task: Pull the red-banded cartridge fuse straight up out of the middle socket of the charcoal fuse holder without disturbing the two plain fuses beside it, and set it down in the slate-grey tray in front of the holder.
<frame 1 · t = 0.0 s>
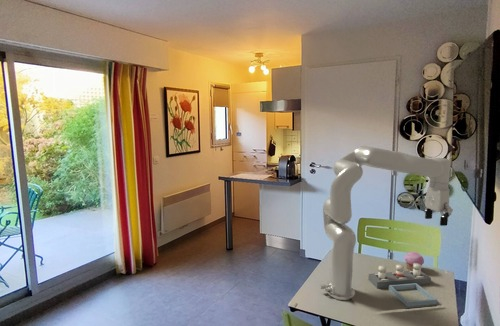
hand: (435, 221, 148), 31 cm above the table, tool pointing down, fingers open, 9 cm apart
right fuse: (416, 280, 155), point 1 cm above the table, touching fuse holder
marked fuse: (398, 281, 154), point 1 cm above the table, touching fuse holder
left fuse: (381, 283, 152), point 1 cm above the table, touching fuse holder
cupcake: (413, 271, 166), on the table
fuse holder: (398, 283, 154), on the table
tray: (411, 298, 141), on the table
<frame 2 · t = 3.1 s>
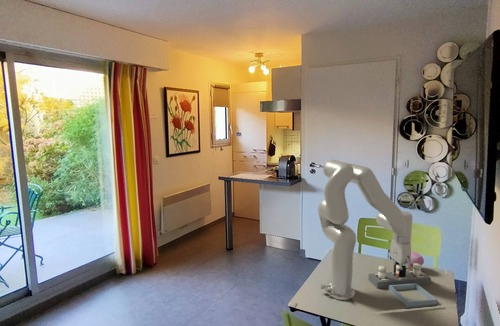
hand: (399, 274, 153), 5 cm above the table, tool pointing down, fingers closed on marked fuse, 3 cm apart
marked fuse: (398, 281, 154), point 1 cm above the table, touching fuse holder, gripper
everything else where it was.
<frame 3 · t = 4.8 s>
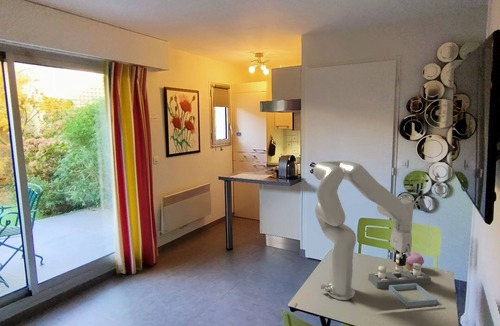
hand: (399, 263, 152), 10 cm above the table, tool pointing down, fingers closed on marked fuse, 3 cm apart
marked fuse: (398, 270, 153), point 7 cm above the table, touching gripper
everything else where it was.
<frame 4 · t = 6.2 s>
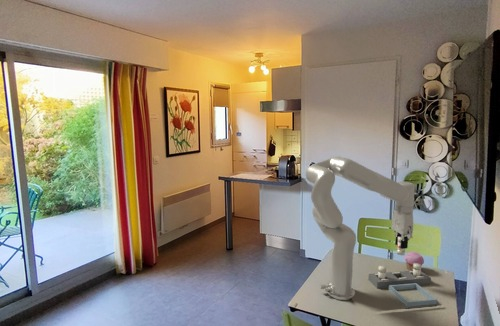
hand: (401, 246, 151), 19 cm above the table, tool pointing down, fingers closed on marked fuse, 3 cm apart
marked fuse: (400, 253, 152), point 15 cm above the table, touching gripper
everything else where it was.
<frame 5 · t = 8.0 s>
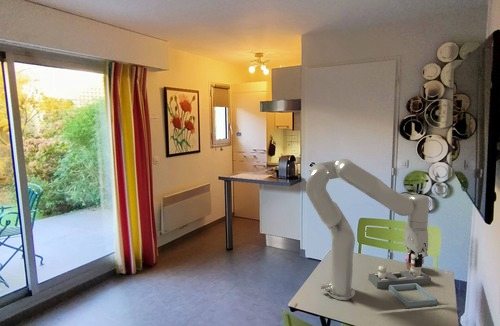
hand: (414, 264, 139), 16 cm above the table, tool pointing down, fingers closed on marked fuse, 3 cm apart
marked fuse: (414, 272, 139), point 12 cm above the table, touching gripper
everything else where it was.
when the fingers open (6 cm above the table, at t = 9.6 s): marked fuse drops 2 cm, resting on tray.
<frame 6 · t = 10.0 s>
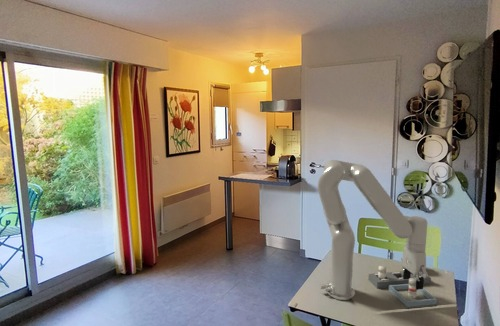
hand: (412, 283, 140), 7 cm above the table, tool pointing down, fingers open, 8 cm apart
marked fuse: (411, 297, 141), point 1 cm above the table, touching tray
everything else where it was.
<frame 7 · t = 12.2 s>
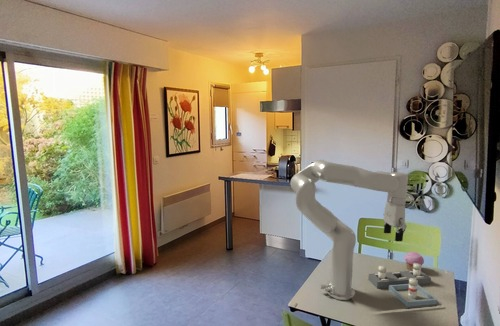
hand: (392, 236, 145), 25 cm above the table, tool pointing down, fingers open, 9 cm apart
nothing on the table moved.
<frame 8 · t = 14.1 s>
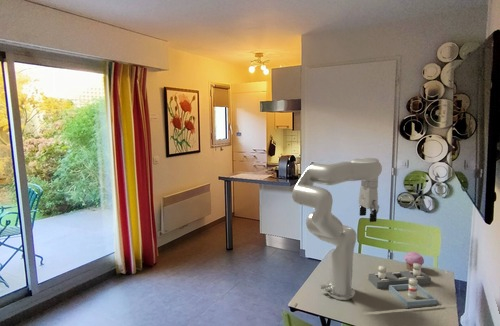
hand: (367, 218, 156), 30 cm above the table, tool pointing down, fingers open, 9 cm apart
nothing on the table moved.
at the end: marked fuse inside the target area on the tray (0.1 cm from its centre), point 0.6 cm above the tray's base; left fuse moved 0.0 cm from its start; right fuse moved 0.0 cm from its start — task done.
